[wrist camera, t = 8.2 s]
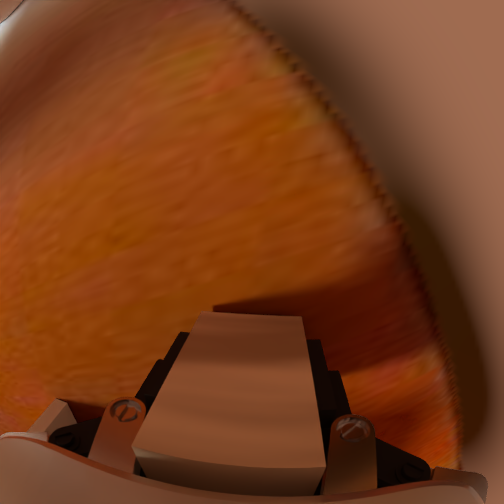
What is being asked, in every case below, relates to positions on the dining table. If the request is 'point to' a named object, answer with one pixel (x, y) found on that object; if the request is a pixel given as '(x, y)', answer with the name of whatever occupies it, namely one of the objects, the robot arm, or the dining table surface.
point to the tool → (237, 411)
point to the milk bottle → (7, 8)
